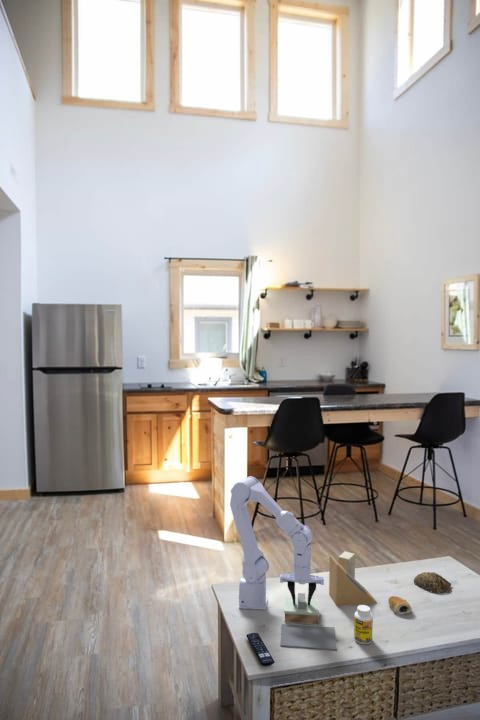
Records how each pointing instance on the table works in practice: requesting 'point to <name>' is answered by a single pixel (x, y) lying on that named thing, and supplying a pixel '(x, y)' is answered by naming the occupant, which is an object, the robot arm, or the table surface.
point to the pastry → (399, 605)
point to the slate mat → (308, 637)
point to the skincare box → (348, 562)
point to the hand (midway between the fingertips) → (301, 603)
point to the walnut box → (301, 618)
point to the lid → (301, 605)
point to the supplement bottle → (363, 625)
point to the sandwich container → (346, 587)
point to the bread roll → (432, 582)
